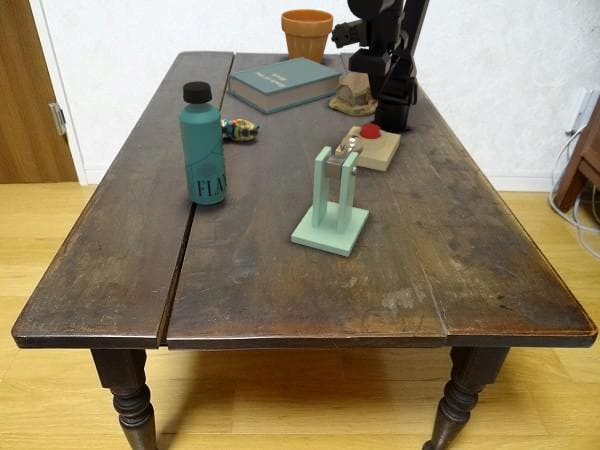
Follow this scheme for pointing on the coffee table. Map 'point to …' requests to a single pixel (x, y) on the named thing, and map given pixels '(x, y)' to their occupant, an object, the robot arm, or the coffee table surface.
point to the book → (283, 84)
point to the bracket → (332, 211)
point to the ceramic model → (354, 95)
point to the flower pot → (306, 33)
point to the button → (370, 131)
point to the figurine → (238, 129)
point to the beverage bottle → (202, 145)
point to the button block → (375, 149)
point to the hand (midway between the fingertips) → (374, 97)
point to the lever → (343, 156)
